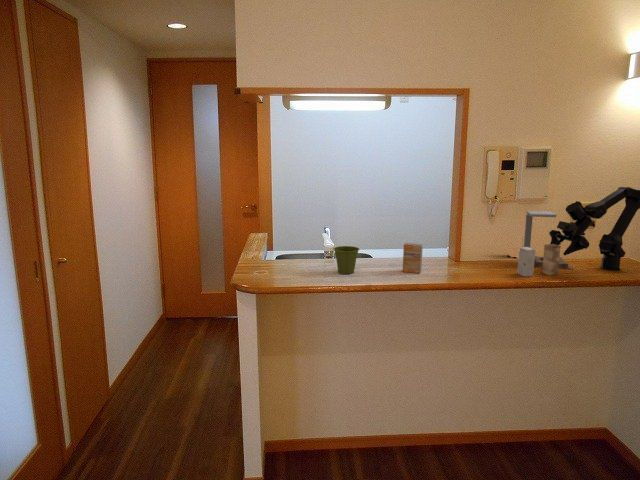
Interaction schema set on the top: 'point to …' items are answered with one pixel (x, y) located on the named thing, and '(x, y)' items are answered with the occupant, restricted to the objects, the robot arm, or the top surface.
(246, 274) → the top surface
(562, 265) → the tan flat wooden frame
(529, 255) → the skincare box
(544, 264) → the peg
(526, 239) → the grey l-shaped rod
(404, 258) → the supplement box
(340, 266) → the plant pot
